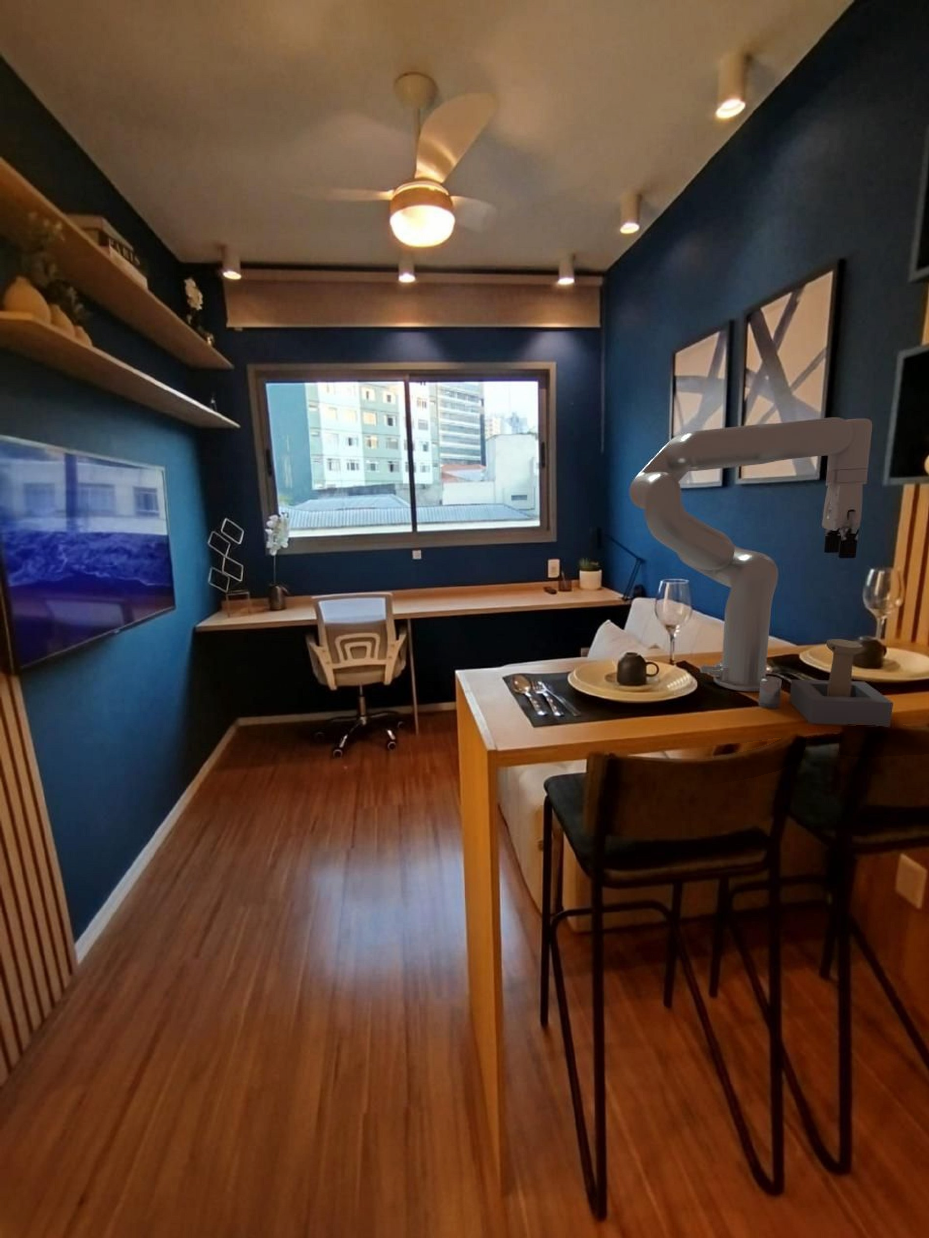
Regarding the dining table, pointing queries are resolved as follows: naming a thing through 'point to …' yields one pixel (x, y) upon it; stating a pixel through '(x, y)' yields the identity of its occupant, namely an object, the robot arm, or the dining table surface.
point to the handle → (841, 666)
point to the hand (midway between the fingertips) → (839, 555)
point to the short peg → (769, 692)
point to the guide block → (840, 704)
